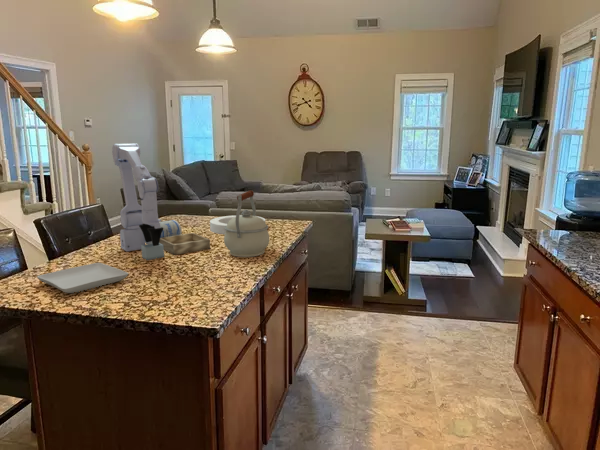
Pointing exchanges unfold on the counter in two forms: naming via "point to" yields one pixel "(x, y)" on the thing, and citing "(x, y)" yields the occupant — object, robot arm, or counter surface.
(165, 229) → the supplement tub
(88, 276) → the salad plate
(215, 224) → the ring with crossbar
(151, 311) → the counter surface
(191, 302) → the counter surface
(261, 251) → the kettle
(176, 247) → the square wooden tray
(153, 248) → the small crate
